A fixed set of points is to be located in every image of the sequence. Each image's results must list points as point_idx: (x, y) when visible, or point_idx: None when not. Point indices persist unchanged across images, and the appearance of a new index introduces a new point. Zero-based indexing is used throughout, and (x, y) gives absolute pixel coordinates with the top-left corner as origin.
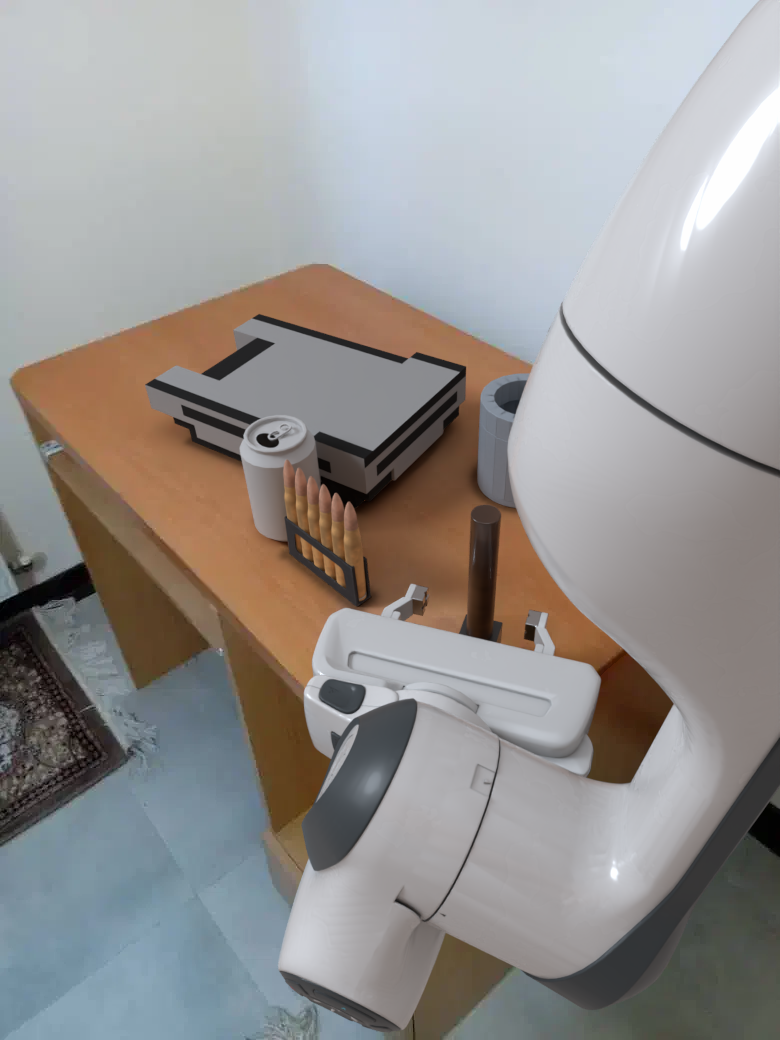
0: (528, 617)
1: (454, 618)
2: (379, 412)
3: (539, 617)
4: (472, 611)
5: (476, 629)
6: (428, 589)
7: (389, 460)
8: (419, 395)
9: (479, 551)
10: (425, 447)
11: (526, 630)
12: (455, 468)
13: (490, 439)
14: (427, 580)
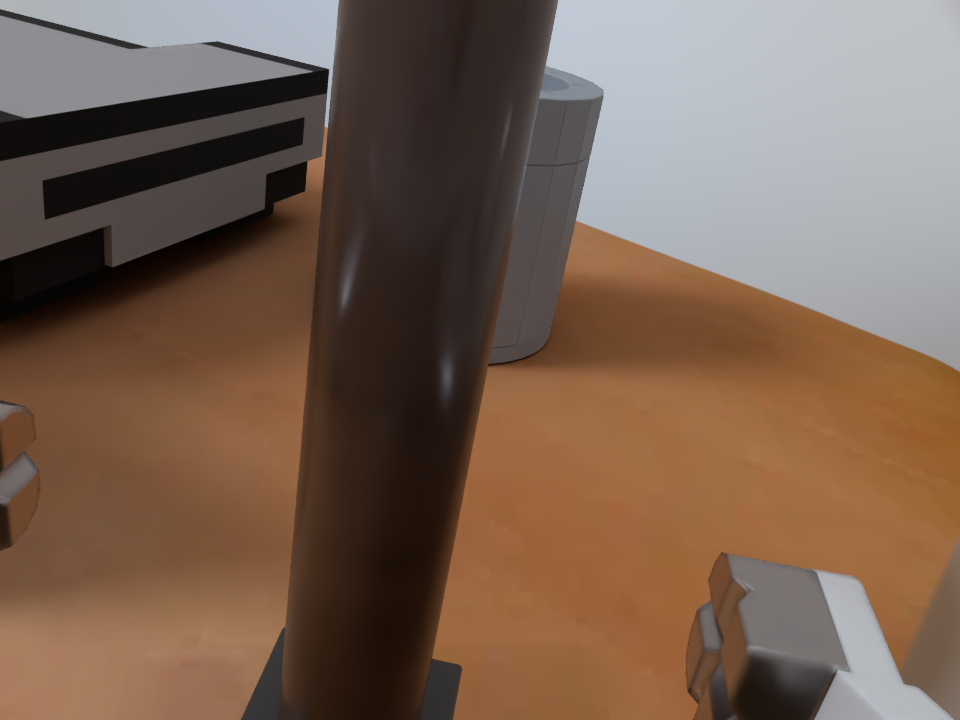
0: (748, 603)
1: (239, 660)
2: (86, 78)
3: (823, 602)
4: (320, 589)
5: (336, 706)
6: (24, 421)
7: (94, 190)
8: (207, 77)
9: (414, 48)
10: (214, 218)
11: (741, 707)
12: (288, 281)
13: None
14: (158, 525)
